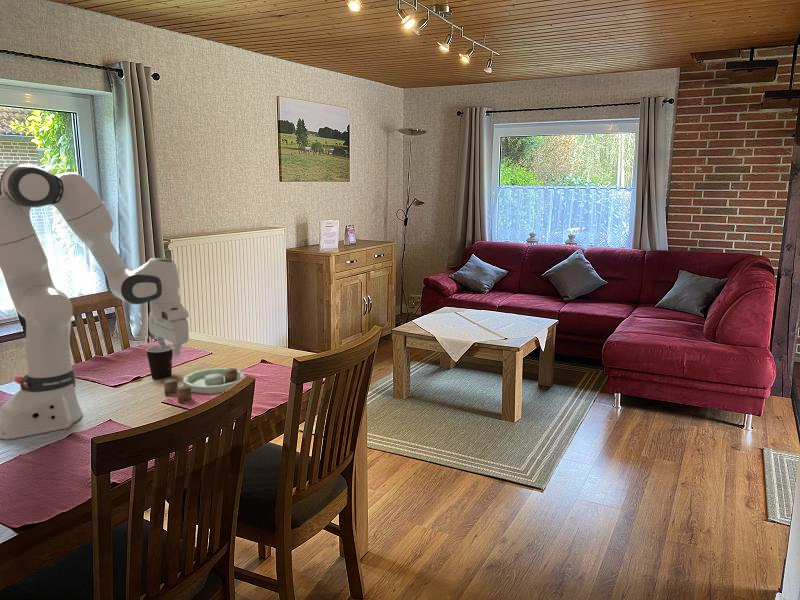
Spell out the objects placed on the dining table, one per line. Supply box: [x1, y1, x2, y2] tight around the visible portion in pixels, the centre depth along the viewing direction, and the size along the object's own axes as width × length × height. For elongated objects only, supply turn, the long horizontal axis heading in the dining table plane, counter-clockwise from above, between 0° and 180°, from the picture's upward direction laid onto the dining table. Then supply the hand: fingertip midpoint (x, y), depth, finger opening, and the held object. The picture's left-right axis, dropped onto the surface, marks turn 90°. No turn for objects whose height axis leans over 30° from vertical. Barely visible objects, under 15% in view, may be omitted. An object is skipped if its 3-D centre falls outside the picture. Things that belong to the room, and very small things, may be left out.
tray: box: [182, 367, 245, 394], centre depth 208 cm, size 20×20×3 cm
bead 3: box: [225, 367, 238, 384], centre depth 208 cm, size 4×4×4 cm
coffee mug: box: [145, 344, 174, 380], centre depth 218 cm, size 12×9×10 cm
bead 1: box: [163, 378, 179, 398], centre depth 200 cm, size 4×4×4 cm
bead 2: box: [177, 386, 192, 405], centre depth 194 cm, size 4×4×4 cm
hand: (169, 352), depth 198 cm, fingers open, 8 cm apart
